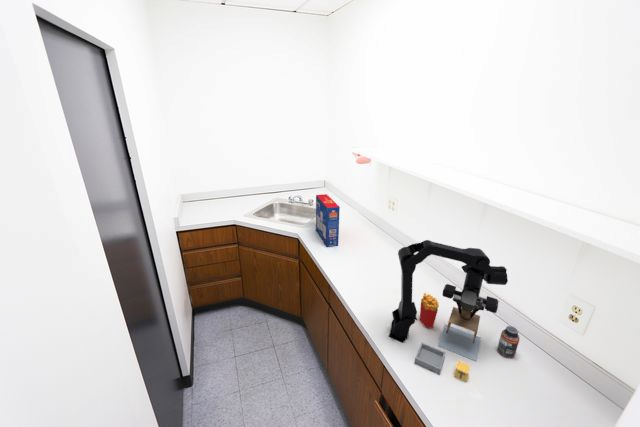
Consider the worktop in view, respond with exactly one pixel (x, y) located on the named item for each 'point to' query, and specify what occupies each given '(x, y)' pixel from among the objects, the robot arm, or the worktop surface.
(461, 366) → the letter cube
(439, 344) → the mat
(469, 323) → the brown knobbed box
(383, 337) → the worktop surface
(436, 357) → the tray
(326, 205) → the pasta box
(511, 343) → the supplement bottle
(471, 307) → the robot arm
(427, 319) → the french fries
